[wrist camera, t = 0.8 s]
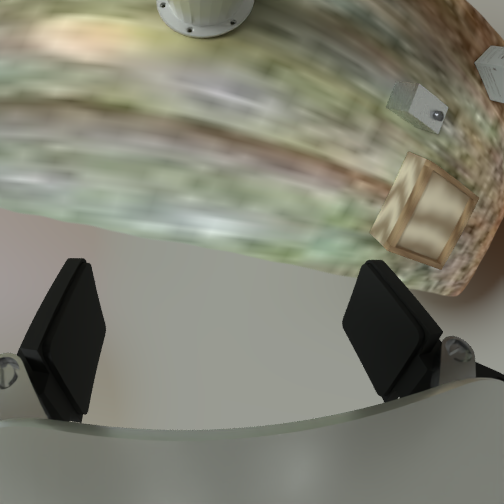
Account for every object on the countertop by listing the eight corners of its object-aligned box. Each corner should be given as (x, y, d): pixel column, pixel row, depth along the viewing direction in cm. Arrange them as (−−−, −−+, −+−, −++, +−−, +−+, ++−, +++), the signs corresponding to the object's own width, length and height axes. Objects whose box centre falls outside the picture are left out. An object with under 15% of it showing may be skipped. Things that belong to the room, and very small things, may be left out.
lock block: (395, 81, 37) (422, 83, 31) (424, 102, 39) (451, 108, 33) (385, 107, 39) (411, 112, 33) (415, 127, 41) (441, 135, 35)
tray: (408, 151, 43) (432, 161, 37) (457, 185, 48) (479, 198, 42) (369, 232, 50) (387, 250, 44) (423, 252, 55) (441, 269, 49)
